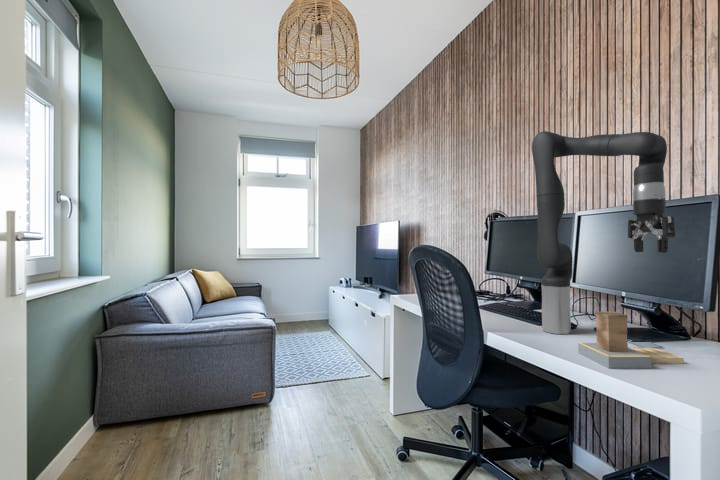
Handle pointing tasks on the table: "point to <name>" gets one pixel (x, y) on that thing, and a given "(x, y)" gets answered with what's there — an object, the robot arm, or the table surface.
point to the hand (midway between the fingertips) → (650, 252)
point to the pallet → (659, 355)
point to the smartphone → (645, 344)
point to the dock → (614, 357)
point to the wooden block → (612, 331)
